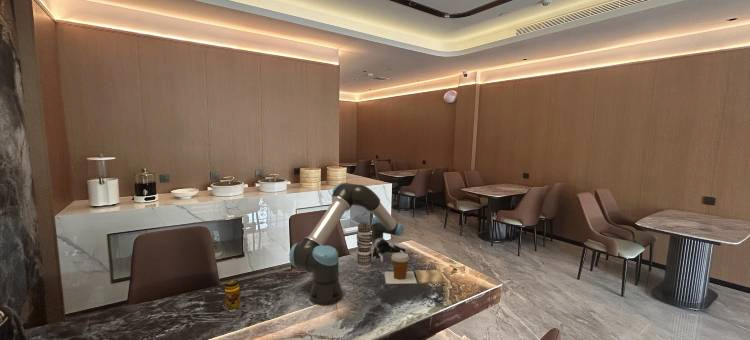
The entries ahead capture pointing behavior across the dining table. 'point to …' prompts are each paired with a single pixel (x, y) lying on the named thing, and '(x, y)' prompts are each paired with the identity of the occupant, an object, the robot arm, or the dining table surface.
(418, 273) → the oak coaster
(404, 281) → the mat
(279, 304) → the dining table surface
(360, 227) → the decorative candle
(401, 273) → the disposable coffee cup
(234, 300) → the condiment
